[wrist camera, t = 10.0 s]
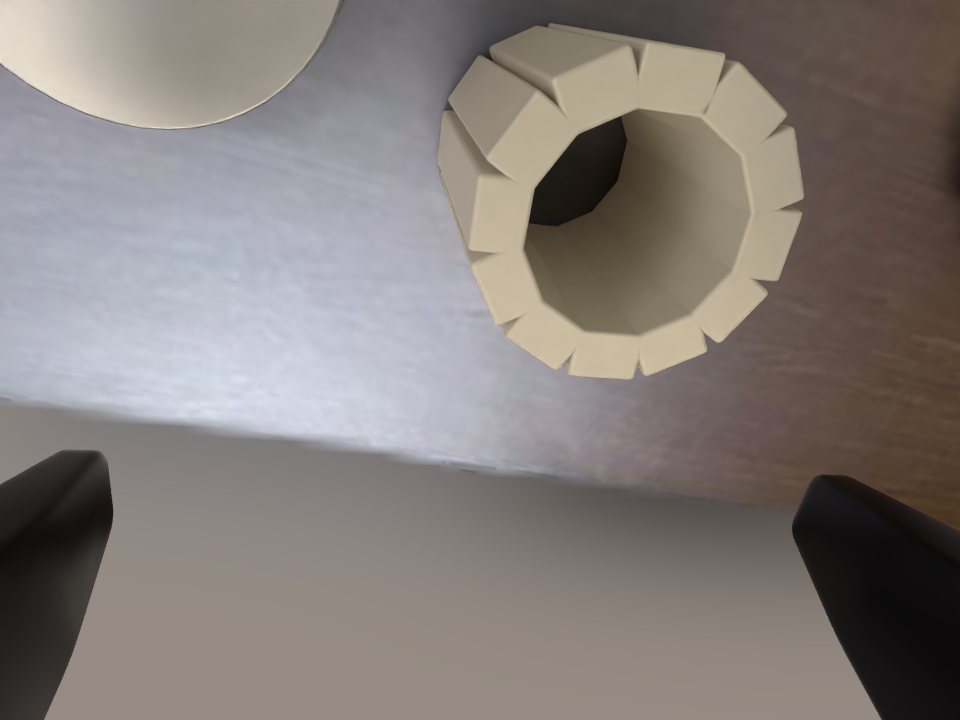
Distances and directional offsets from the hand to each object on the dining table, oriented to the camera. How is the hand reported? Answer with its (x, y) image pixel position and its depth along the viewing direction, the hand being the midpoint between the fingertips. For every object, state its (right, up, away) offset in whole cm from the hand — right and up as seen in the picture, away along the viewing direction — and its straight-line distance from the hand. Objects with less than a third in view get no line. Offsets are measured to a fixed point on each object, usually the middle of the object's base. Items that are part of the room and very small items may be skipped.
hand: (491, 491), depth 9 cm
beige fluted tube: (+2, +7, +10) cm, 12 cm away
